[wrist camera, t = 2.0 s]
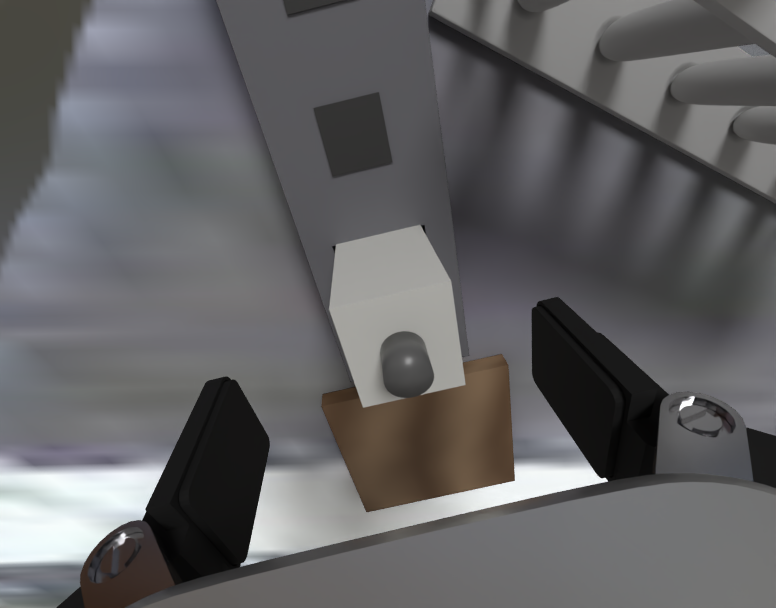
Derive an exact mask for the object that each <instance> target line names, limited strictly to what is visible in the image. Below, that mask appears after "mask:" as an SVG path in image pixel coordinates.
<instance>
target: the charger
mask: <svg viewBox="0 0 776 608" xmlns="http://www.w3.org/2000/svg"><path fill="white" fill-rule="evenodd" d="M329 311H330V314H331V316H332V319H333V322H334V325H335V328H336V331H337V334H338V337H339V340H340V342H341V345H342V348H343V351H344V354H345V357H346V360H347V363H348V366H349V368H350V371H351V374H352V377H353V380H354V383H355V386H356V389H357V392H358V394H359V397H360V400H361V403H362V406H363V408H364V407H369V406H373V405H378V404H382V403H387V402H391V401H396V400H400V399H405V398H412V397H416V396H419V395H423V394H427V393H432V392H436V391H441V390H445V389H450V388H454V387H459V386H463V385H466V384H465V377H464V369H463V362H462V355H461V348H460V341H459V333H458V326H457V319H456V312H455V305H454V297H453V290H452V283H451V280H450V278H449V276H448V274H447V273H446V271H445V269H444V267H443V265H442V263H441V262H440V260H439V258H438V256H437V254H436V253H435V251H434V249H433V247H432V245H431V243H430V242H429V240H428V238H427V236H426V234H425V233H424V231H423V229H422V227H421V225H417V226H412V227H408V228H404V229H400V230H395V231H391V232H387V233H383V234H378V235H374V236H370V237H366V238H361V239H357V240H353V241H349V242H344V243H340V244H336V249H335V259H334V268H333V277H332V287H331V296H330V305H329Z"/></svg>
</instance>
